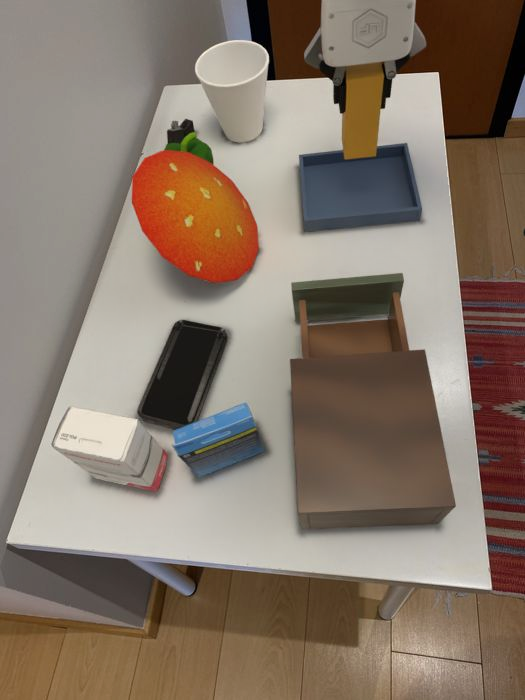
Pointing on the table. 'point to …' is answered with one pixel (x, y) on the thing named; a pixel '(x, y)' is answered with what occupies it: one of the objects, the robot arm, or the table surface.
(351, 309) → the drawer
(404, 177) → the tray
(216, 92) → the cup
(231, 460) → the label tape box
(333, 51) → the robot arm
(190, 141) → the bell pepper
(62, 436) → the ink box
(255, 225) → the toy strawberry
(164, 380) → the phone
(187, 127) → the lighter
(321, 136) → the table surface
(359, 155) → the block
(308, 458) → the cabinet
